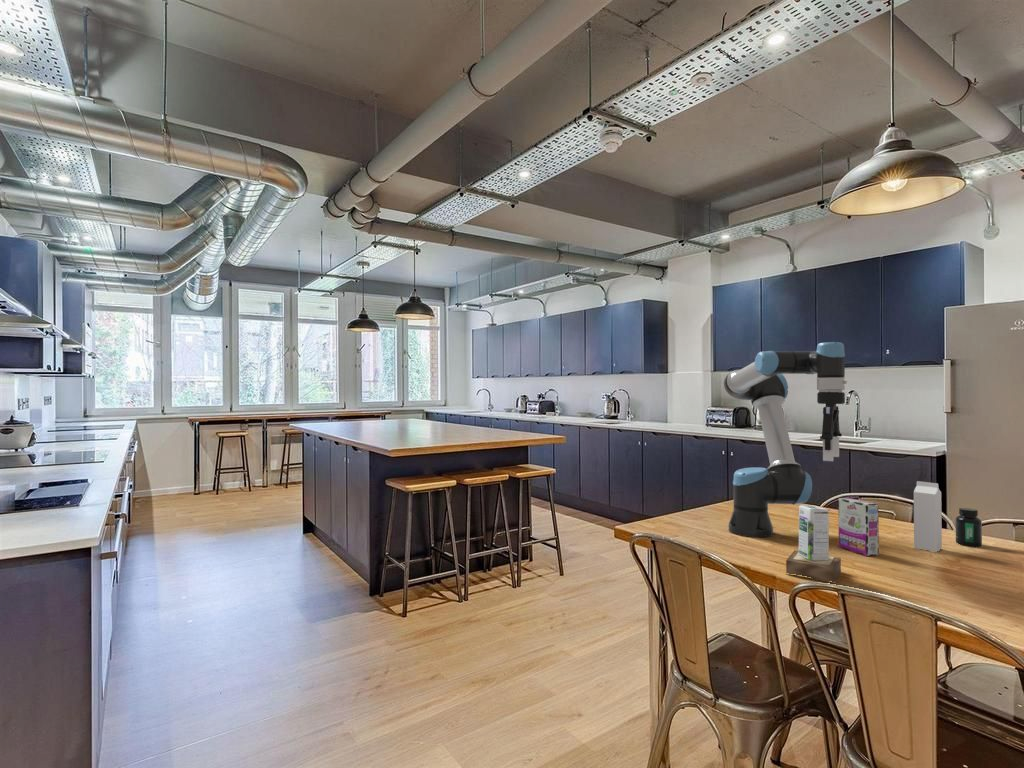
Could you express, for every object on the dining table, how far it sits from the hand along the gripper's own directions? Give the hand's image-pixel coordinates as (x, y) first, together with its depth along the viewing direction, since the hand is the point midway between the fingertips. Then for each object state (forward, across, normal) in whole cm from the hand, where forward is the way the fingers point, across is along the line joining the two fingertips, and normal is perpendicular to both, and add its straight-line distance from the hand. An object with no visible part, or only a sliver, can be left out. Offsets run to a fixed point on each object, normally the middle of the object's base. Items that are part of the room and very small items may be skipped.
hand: (831, 458), depth 171 cm
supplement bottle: (+31, +44, -35) cm, 64 cm away
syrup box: (+27, -21, +2) cm, 34 cm away
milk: (+31, +29, -24) cm, 49 cm away
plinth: (+31, -21, +2) cm, 37 cm away
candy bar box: (+31, +12, -6) cm, 34 cm away
